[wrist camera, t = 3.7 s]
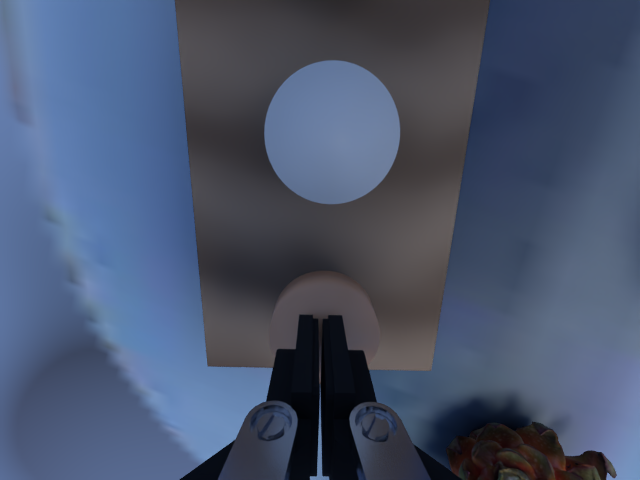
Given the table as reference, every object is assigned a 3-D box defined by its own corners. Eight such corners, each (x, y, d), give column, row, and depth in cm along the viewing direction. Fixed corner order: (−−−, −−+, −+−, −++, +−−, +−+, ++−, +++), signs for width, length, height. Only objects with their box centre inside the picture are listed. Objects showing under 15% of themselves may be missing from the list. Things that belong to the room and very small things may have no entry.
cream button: (276, 81, 12) (262, 57, 9) (385, 85, 12) (407, 62, 9) (277, 192, 13) (265, 202, 10) (376, 194, 13) (393, 205, 10)
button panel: (179, -182, 12) (152, -245, 10) (493, -167, 12) (526, -226, 10) (218, 344, 19) (207, 366, 17) (419, 349, 19) (431, 370, 17)
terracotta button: (278, 258, 14) (267, 285, 11) (371, 260, 14) (385, 287, 11) (278, 339, 15) (269, 382, 12) (364, 341, 15) (375, 384, 12)
